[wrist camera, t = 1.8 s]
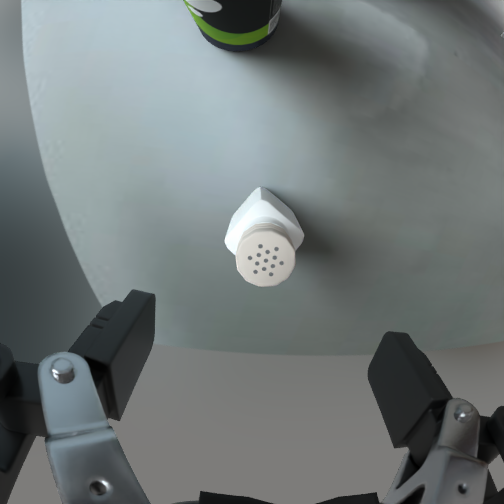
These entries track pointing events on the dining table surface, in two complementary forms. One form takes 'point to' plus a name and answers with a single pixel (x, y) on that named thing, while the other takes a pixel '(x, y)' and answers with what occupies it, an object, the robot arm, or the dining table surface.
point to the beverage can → (236, 21)
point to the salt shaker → (264, 239)
